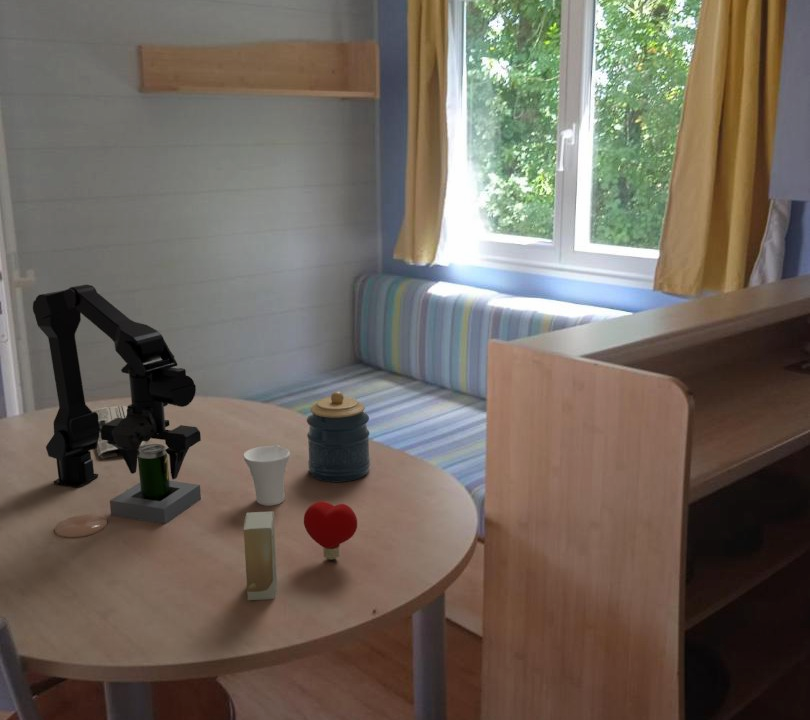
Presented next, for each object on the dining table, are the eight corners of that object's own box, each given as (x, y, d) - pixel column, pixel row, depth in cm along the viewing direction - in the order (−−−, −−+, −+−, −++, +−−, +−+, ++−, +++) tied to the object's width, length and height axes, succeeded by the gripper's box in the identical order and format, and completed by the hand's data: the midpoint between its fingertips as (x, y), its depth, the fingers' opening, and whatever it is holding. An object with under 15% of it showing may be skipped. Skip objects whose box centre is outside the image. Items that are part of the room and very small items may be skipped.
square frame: (111, 515, 168) (109, 500, 167) (149, 491, 179) (148, 477, 178) (165, 523, 164) (163, 508, 163) (200, 499, 175) (199, 484, 174)
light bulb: (365, 554, 152) (363, 499, 149) (349, 573, 145) (347, 516, 143) (315, 546, 154) (313, 493, 152) (297, 565, 148) (295, 509, 146)
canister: (319, 487, 180) (316, 404, 176) (301, 466, 192) (297, 387, 187) (379, 477, 185) (377, 395, 181) (357, 456, 197) (355, 380, 192)
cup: (301, 494, 177) (299, 447, 174) (275, 512, 168) (273, 463, 166) (263, 487, 180) (261, 441, 178) (236, 505, 172) (233, 456, 170)
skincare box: (250, 581, 143) (246, 511, 140) (277, 580, 143) (274, 509, 140) (246, 602, 137) (242, 528, 134) (275, 600, 137) (271, 527, 134)
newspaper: (86, 418, 227) (84, 405, 226) (136, 411, 232) (135, 398, 231) (100, 463, 196) (98, 448, 195) (157, 455, 201) (156, 440, 200)
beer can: (147, 515, 168) (142, 455, 165) (138, 505, 172) (133, 447, 169) (175, 508, 171) (170, 449, 168) (165, 499, 175) (161, 441, 172)
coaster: (44, 533, 161) (43, 531, 161) (77, 513, 169) (77, 511, 169) (85, 540, 158) (84, 538, 158) (117, 520, 166) (117, 518, 166)
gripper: (77, 405, 162) (85, 485, 166) (164, 415, 156) (171, 498, 160) (115, 388, 172) (123, 464, 176) (199, 397, 166) (205, 475, 170)
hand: (153, 475), depth 170 cm, fingers open, 9 cm apart
